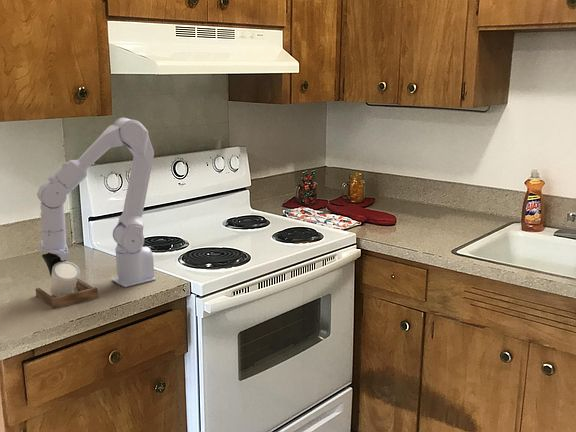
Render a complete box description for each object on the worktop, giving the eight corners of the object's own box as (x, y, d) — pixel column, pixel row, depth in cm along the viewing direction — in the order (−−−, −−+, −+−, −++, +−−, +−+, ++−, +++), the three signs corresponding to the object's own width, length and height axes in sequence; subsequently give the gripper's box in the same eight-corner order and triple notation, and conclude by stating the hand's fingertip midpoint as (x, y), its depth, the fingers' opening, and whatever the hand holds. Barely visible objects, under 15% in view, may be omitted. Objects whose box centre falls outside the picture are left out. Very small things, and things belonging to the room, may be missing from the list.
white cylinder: (57, 302, 158) (61, 283, 154) (42, 284, 161) (46, 265, 157) (80, 293, 163) (85, 275, 159) (66, 276, 166) (70, 257, 162)
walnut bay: (79, 285, 169) (78, 276, 168) (98, 297, 160) (97, 288, 159) (36, 296, 161) (35, 286, 161) (53, 308, 153) (52, 299, 152)
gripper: (27, 226, 162) (31, 276, 165) (48, 238, 151) (51, 291, 154) (54, 222, 167) (57, 271, 170) (76, 233, 156) (79, 285, 159)
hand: (56, 280), depth 162 cm, fingers closed, pressing on white cylinder
